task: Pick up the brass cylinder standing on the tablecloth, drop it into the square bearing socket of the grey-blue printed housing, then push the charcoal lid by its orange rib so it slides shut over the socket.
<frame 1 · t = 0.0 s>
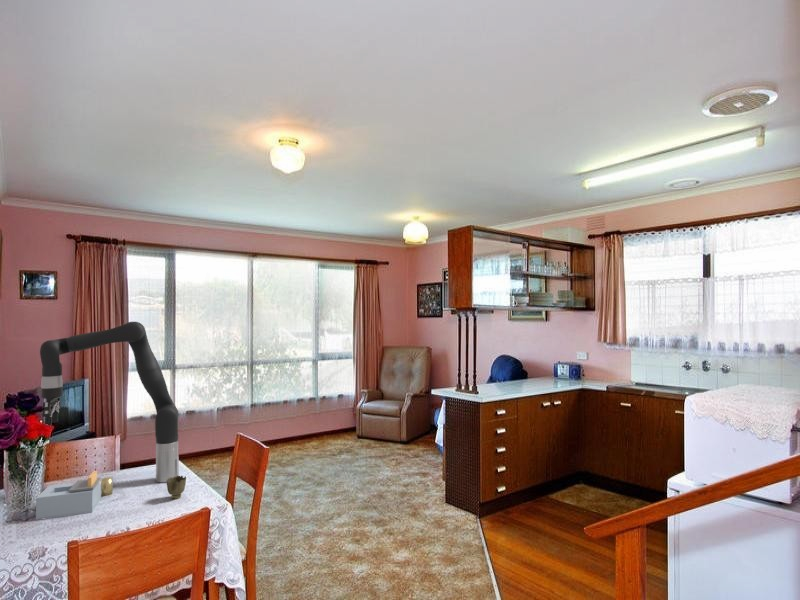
hand: (51, 424, 207), 29 cm above the table, fingers open, 8 cm apart
cup: (176, 498, 198), on the table
lid: (85, 480, 190), point 10 cm above the table, slide at 0.0 cm
housing: (70, 509, 188), on the table
brass cylinder: (106, 494, 204), on the table
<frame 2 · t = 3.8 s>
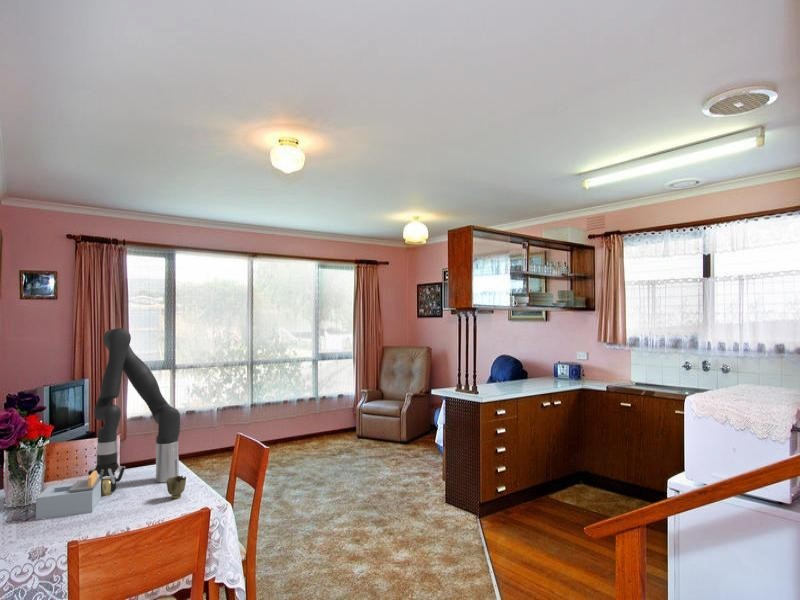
hand: (106, 492, 204), 1 cm above the table, fingers closed on brass cylinder, 4 cm apart
brass cylinder: (106, 494, 204), on the table, touching gripper
everything else where it was.
when the fingers open (9 cm above the table, at t = 7.9 s): brass cylinder drops 7 cm, resting on housing.
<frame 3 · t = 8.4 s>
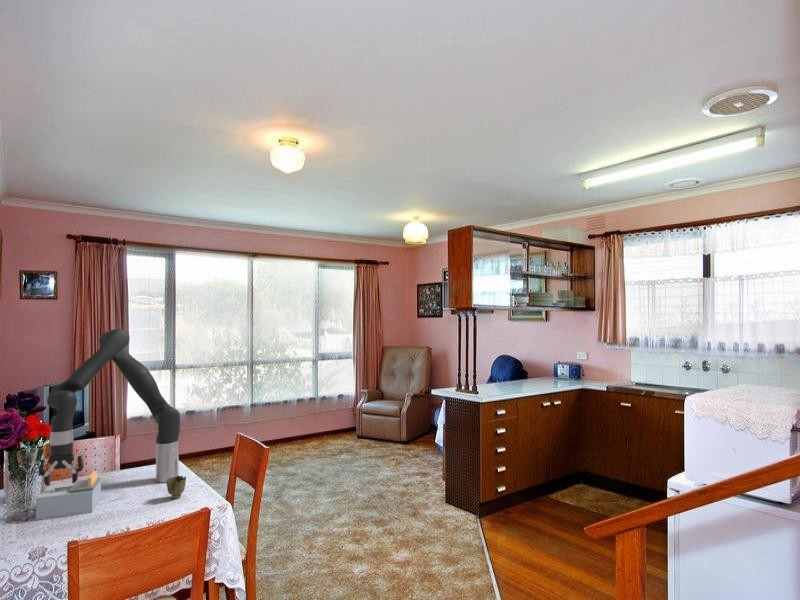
hand: (61, 484, 187), 10 cm above the table, fingers open, 8 cm apart
brass cylinder: (60, 507, 187), point 1 cm above the table, touching housing
everything else where it was.
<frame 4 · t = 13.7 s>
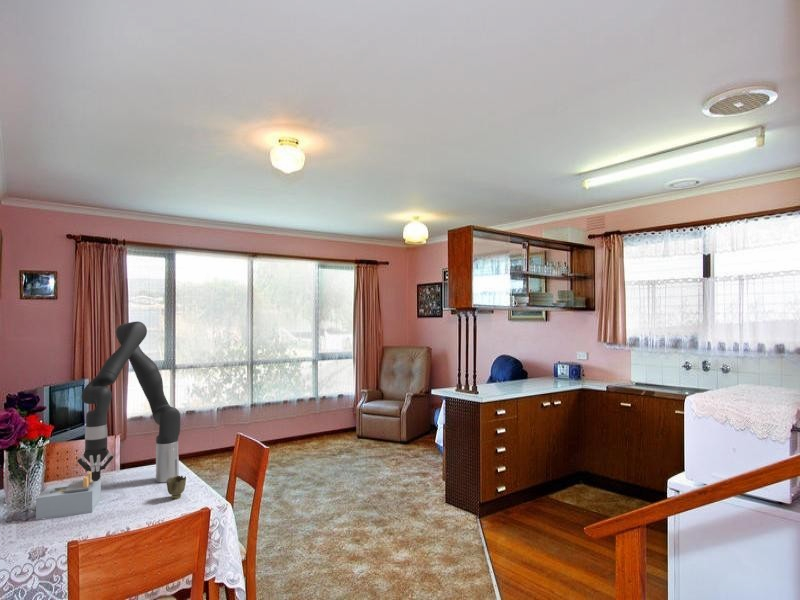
hand: (95, 480, 191), 10 cm above the table, fingers closed
lid: (80, 480, 190), point 10 cm above the table, slide at 1.5 cm, touching gripper
everything else where it was.
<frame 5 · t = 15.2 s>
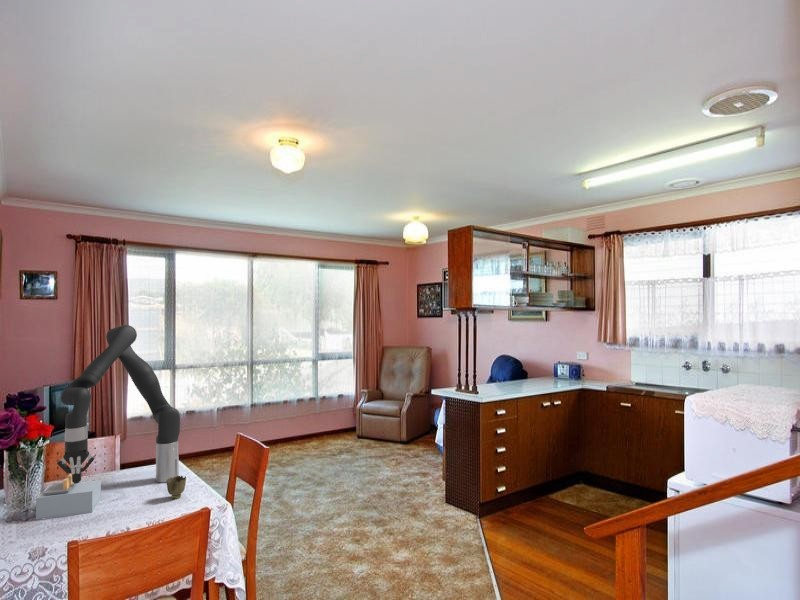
hand: (76, 482, 189), 10 cm above the table, fingers closed
lid: (61, 483, 187), point 10 cm above the table, slide at 8.1 cm, touching gripper
everything else where it was.
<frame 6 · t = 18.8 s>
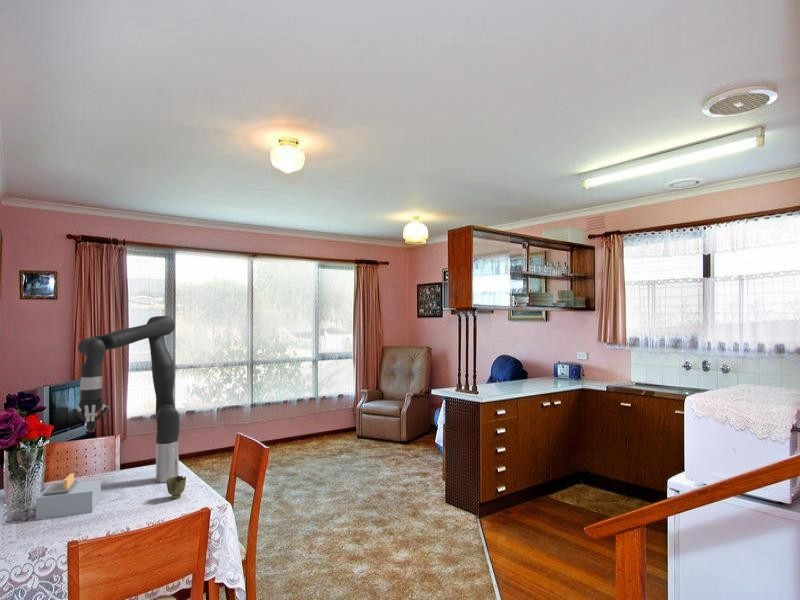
hand: (91, 430, 195), 29 cm above the table, fingers closed
lid: (61, 483, 187), point 10 cm above the table, slide at 8.0 cm
everything else where it was.
at the end: brass cylinder 0.1 cm from the target spot on the housing, point 1.1 cm above the housing's base; lid slide at 8.0 cm; the gripper is holding nothing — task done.
